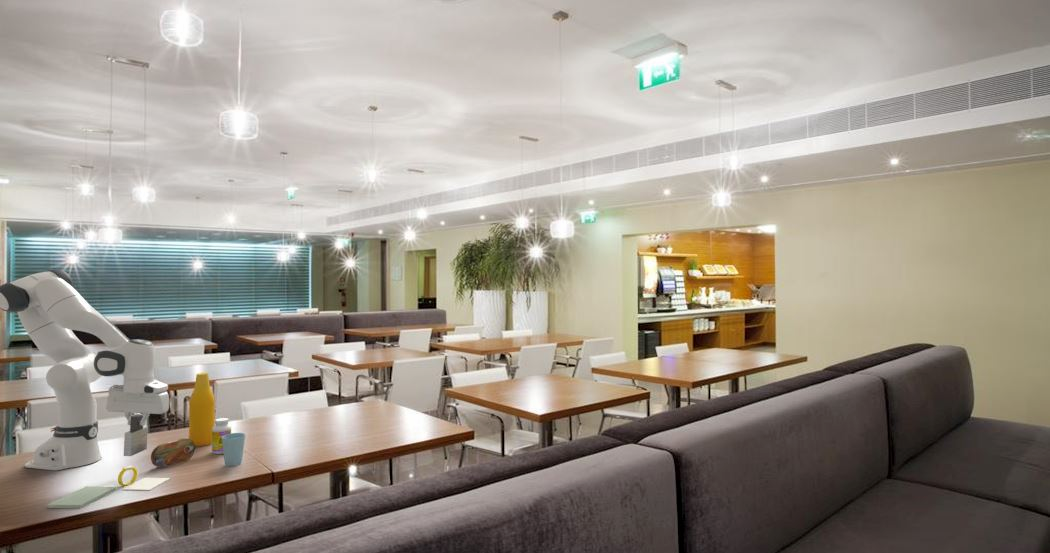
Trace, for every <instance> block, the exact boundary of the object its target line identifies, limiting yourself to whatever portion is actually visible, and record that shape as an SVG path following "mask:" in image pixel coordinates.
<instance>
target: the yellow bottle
mask: <svg viewBox="0 0 1050 553" xmlns="http://www.w3.org/2000/svg"><path fill="white" fill-rule="evenodd" d="M194 382H195V383H194V389H193V391H192V393H191V395H190V397H189V406H188V412H189V413H188V426H189V427H188V439H191V440H192V441H193V442H194V444H195V448H197V447H204V446H209V445H212V428H213V427H214V426H216V424H215V420H216V419H215V416H216V415H215V414H216V413H215V410H216V409H215V408H216V407H215V405H216V399H215V395H214V393H213V391H212V389H211V385H210V378H209V373H208V372H197V373H196V375H195V381H194Z"/></svg>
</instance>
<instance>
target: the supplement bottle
mask: <svg viewBox="0 0 1050 553" xmlns="http://www.w3.org/2000/svg"><path fill="white" fill-rule="evenodd" d="M231 433H232V426H231V424H229V418H228V417H220V418H217V419H215V425H214V427H213V428H212V444H211V453H212V454H215V455H221V454H223V455H224V451H223V443H222V436H224V435H227V434H231Z"/></svg>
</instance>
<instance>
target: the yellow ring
mask: <svg viewBox="0 0 1050 553" xmlns="http://www.w3.org/2000/svg"><path fill="white" fill-rule="evenodd" d="M130 470H132V471H133V475H132V479H130V481H129V482H125V483H123V481H122V480H123V476H124V474H125V473H126V471H130ZM138 474H139V473H138V470H137V468H136V467H134V466H133V465H126V466H122V470H121V471H120V472H118V476H117V483H118V484H119V485H120V486H122V487H127V486H129V485H131V484H133V483H135V482H136V481H137V478H138Z"/></svg>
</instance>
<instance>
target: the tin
mask: <svg viewBox="0 0 1050 553" xmlns="http://www.w3.org/2000/svg"><path fill="white" fill-rule="evenodd" d="M195 451H196V447H195V444H194V442H193V441H192V440H191V439H189V438H180V439H176V440H172V441H169V442H165V443H161V444H159V445H157V446H156V447H154V449H153V450H152V452H151V454H150V462H151V464H152V465H153V466H154V467H157V468H159V469H162V468H168V467H171V466H174V465H178V464H181V463H184V462H187V461H188V460H190V459H191V458H192V457H193V455H194V453H195Z"/></svg>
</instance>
